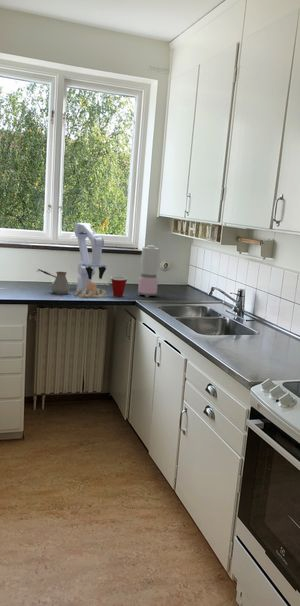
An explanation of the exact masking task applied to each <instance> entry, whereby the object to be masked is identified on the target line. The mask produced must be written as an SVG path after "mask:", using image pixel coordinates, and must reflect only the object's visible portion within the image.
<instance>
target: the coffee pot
mask: <svg viewBox="0 0 300 606" xmlns="http://www.w3.org/2000/svg"><path fill="white" fill-rule="evenodd" d="M39 272H40V273H41V272H42V273H43V274H45V275H48V276H51V277H53V278H55V279H54V281H53V283H52V286H51V291H52V292H53V293H54V294H56V295H67V294H68V293H69V292H70V291H71V287H70V285H69V282H68V279H67V277H66V275H67V271H56V272H55V273H56V275H55V274H54V275H53V274H51V273H49V272H48V271H45V270H43V269H39V268H38V269H37V273H39Z"/></svg>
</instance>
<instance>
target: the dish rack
mask: <svg viewBox="0 0 300 606" xmlns="http://www.w3.org/2000/svg"><path fill="white" fill-rule="evenodd" d="M74 296H77V297H79V298H82V299H90V298H107V297H108V294H107V290H104V289H102V288H101V289H100V288H97V289H96V295H93V292H92V291H89V290H86V289H83V290H80V289H77V288H76V290H75V292H74Z"/></svg>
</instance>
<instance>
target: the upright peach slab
mask: <svg viewBox="0 0 300 606" xmlns="http://www.w3.org/2000/svg"><path fill="white" fill-rule="evenodd" d="M97 285H98V284H97V283H95V282H93V281H92V282H87V283H86V290H89V291H92V292H93V295H96V289H97V287H98V286H97Z"/></svg>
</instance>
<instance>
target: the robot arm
mask: <svg viewBox="0 0 300 606" xmlns="http://www.w3.org/2000/svg"><path fill="white" fill-rule="evenodd" d="M73 231H74V235H75V237H76V238H77V242H78V248H79V253H80V260H81V261H80V263H78V265H77V273H78V275H79V276H78V278H77V286H76V289H79V290H82V291H83V289H86V283H87V282H93V281H92V280H93V277H94V275H95V273H96V268H98V279H99V280H102V278H103V276H104V273H105V271H106V270H107V265H108V264H106V263H102V252H103V251H102V250H103V247H104V245H105V241H104V238H103V237H100V236H99V235H98V234H97V232H96V231H93V229H92V224H91V223H90V222H75V224H74V229H73ZM87 238H88V240H89V241H90V245H91V250H92V251H91V261H90V257H89V252H88V250H89V249H88V246H87V245H88V244H87Z"/></svg>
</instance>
